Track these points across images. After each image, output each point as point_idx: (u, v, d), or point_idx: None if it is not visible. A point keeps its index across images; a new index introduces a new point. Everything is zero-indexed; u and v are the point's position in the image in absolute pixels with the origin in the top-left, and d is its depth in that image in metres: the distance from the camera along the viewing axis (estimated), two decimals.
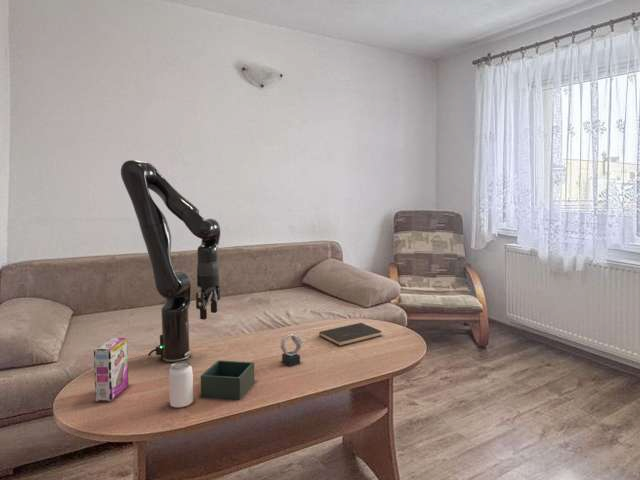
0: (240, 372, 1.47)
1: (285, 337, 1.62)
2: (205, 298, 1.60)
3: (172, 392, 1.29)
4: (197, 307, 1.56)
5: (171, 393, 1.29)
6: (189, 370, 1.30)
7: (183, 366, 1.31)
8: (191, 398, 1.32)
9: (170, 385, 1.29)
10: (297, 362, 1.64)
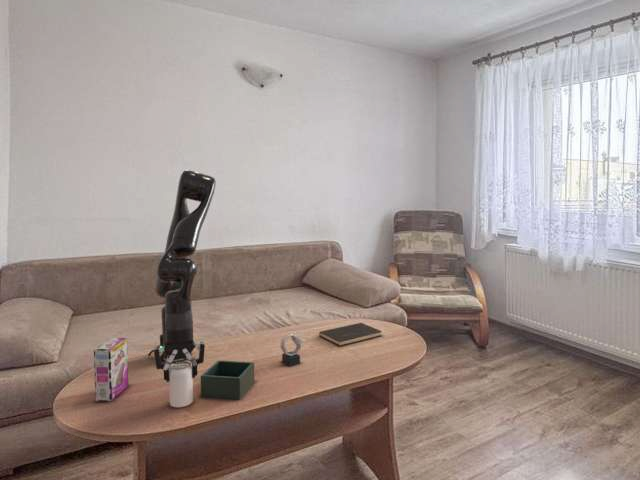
0: (240, 372, 1.47)
1: (285, 337, 1.62)
2: None
3: (172, 392, 1.29)
4: None
5: (171, 393, 1.29)
6: (189, 370, 1.30)
7: (183, 366, 1.31)
8: (191, 398, 1.32)
9: (170, 385, 1.29)
10: (297, 362, 1.64)
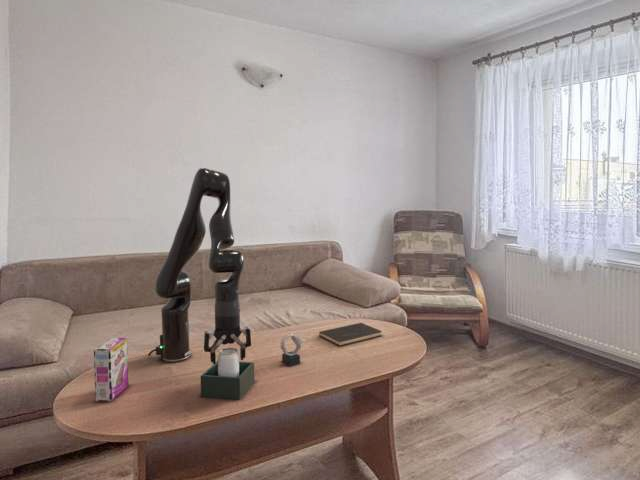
0: (240, 372, 1.47)
1: (285, 337, 1.62)
2: None
3: None
4: None
5: None
6: (236, 355, 1.40)
7: (231, 352, 1.41)
8: None
9: (219, 369, 1.39)
10: (297, 362, 1.64)
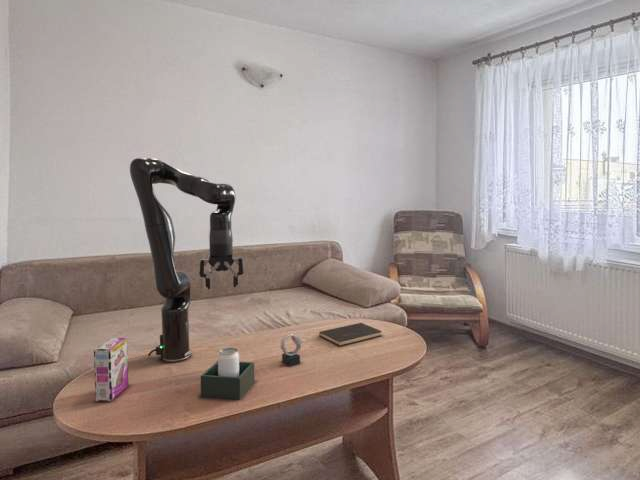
0: (240, 372, 1.47)
1: (285, 337, 1.62)
2: None
3: None
4: None
5: None
6: (236, 355, 1.40)
7: (231, 352, 1.41)
8: None
9: (219, 369, 1.39)
10: (297, 362, 1.64)
